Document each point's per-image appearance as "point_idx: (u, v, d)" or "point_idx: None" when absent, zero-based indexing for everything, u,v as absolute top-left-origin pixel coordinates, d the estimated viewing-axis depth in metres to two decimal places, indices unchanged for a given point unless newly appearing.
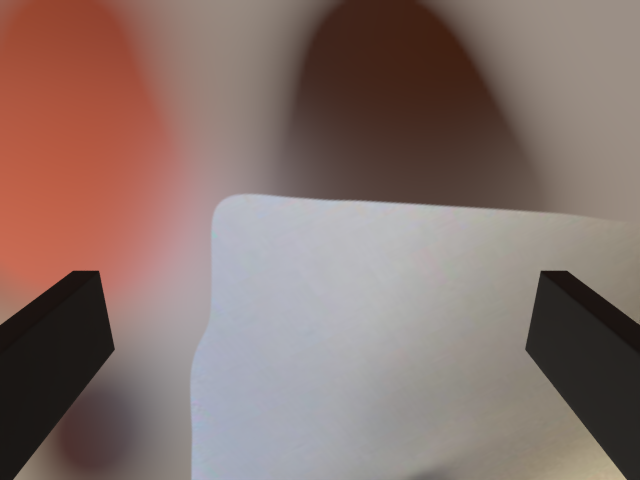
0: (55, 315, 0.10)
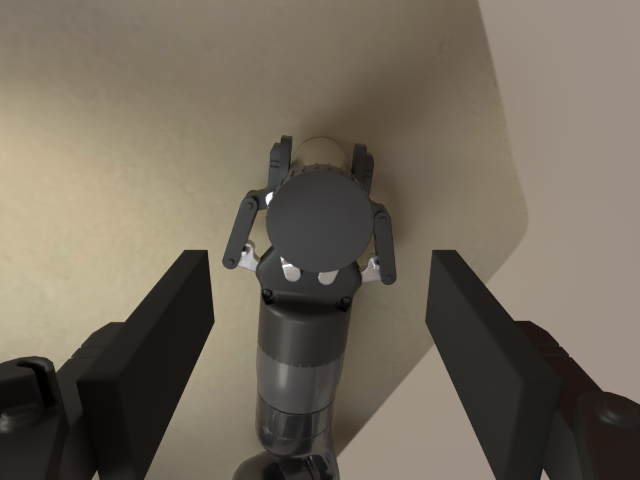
0: (188, 284, 0.12)
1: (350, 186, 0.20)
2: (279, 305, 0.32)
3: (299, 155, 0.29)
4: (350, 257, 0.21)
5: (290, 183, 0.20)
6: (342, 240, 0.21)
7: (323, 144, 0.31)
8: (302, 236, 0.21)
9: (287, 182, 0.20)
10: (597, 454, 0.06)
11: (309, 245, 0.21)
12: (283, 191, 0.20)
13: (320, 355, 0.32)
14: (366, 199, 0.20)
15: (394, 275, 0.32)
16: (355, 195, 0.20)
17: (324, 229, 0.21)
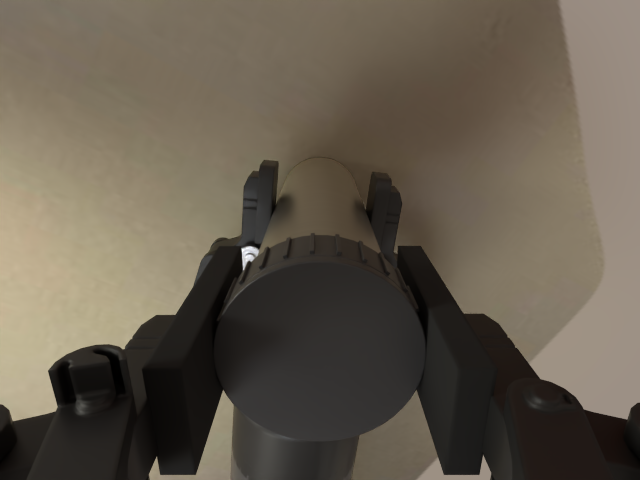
0: (228, 279, 0.12)
1: (382, 291, 0.10)
2: None
3: (288, 192, 0.19)
4: (378, 416, 0.11)
5: (259, 285, 0.10)
6: (363, 387, 0.11)
7: (324, 172, 0.21)
8: (285, 380, 0.11)
9: (253, 283, 0.10)
10: (524, 440, 0.07)
11: (299, 395, 0.11)
12: (245, 300, 0.10)
13: None
14: (414, 315, 0.10)
15: None
16: (392, 308, 0.10)
17: (328, 368, 0.10)
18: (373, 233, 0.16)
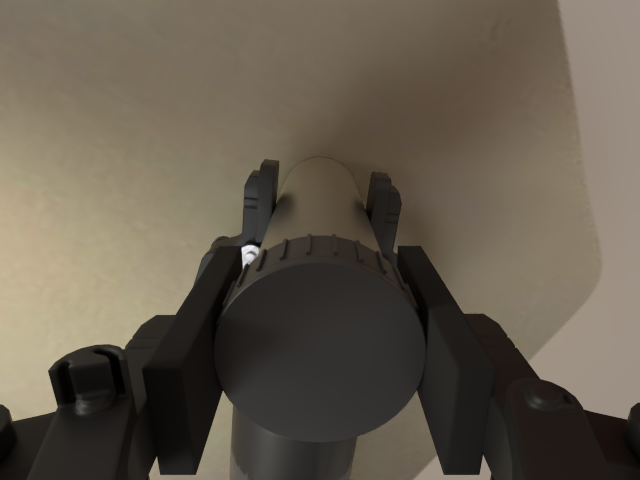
0: (228, 279, 0.12)
1: (232, 319, 0.10)
2: None
3: (288, 191, 0.19)
4: (384, 296, 0.10)
5: (251, 414, 0.11)
6: (348, 316, 0.10)
7: (325, 172, 0.21)
8: (350, 385, 0.11)
9: (251, 418, 0.11)
10: (524, 440, 0.07)
11: (367, 371, 0.10)
12: (268, 423, 0.11)
13: (318, 478, 0.22)
14: (251, 287, 0.10)
15: None
16: (248, 308, 0.10)
17: (329, 351, 0.10)
18: (373, 232, 0.16)
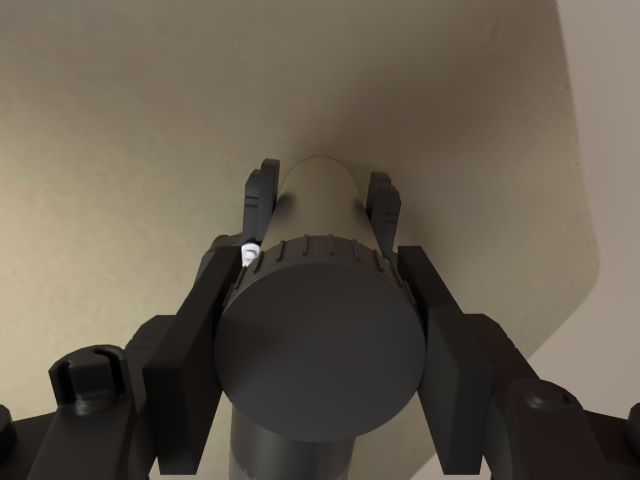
0: (228, 279, 0.12)
1: (289, 430, 0.11)
2: None
3: (289, 190, 0.19)
4: (235, 318, 0.10)
5: (394, 408, 0.11)
6: (265, 343, 0.10)
7: (325, 171, 0.21)
8: (346, 329, 0.10)
9: (400, 407, 0.11)
10: (524, 439, 0.07)
11: (326, 316, 0.10)
12: (404, 394, 0.11)
13: (317, 475, 0.22)
14: (253, 420, 0.11)
15: None
16: (274, 420, 0.11)
17: (307, 354, 0.10)
18: (372, 231, 0.16)
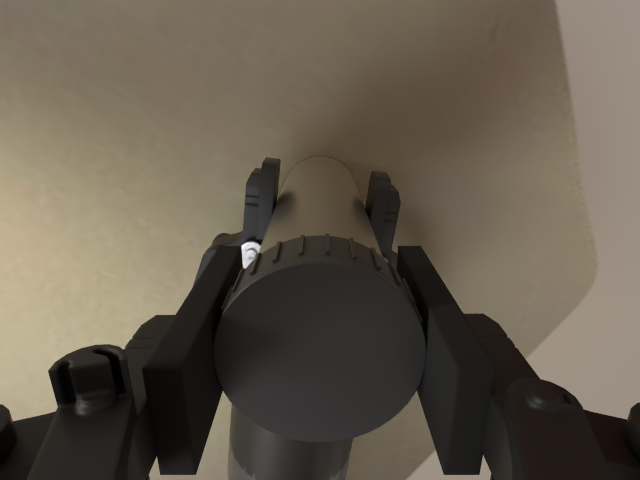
0: (228, 279, 0.12)
1: (412, 375, 0.11)
2: None
3: (289, 189, 0.20)
4: (286, 429, 0.11)
5: (371, 280, 0.10)
6: (309, 405, 0.11)
7: (325, 171, 0.21)
8: (280, 343, 0.10)
9: (370, 274, 0.10)
10: (524, 440, 0.07)
11: (269, 361, 0.10)
12: (350, 276, 0.10)
13: (316, 472, 0.22)
14: (401, 407, 0.11)
15: None
16: (399, 389, 0.11)
17: (314, 371, 0.10)
18: (372, 230, 0.16)
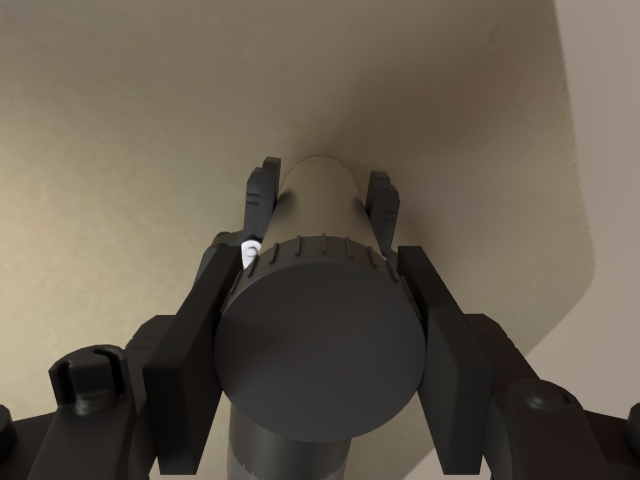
0: (228, 279, 0.12)
1: (323, 272, 0.10)
2: None
3: (290, 188, 0.20)
4: (410, 378, 0.11)
5: (223, 330, 0.10)
6: (376, 361, 0.10)
7: (325, 170, 0.22)
8: (306, 394, 0.11)
9: (218, 331, 0.10)
10: (524, 440, 0.07)
11: (328, 399, 0.11)
12: (222, 349, 0.10)
13: (314, 470, 0.23)
14: (367, 275, 0.10)
15: None
16: (344, 281, 0.10)
17: (333, 363, 0.10)
18: (372, 229, 0.17)
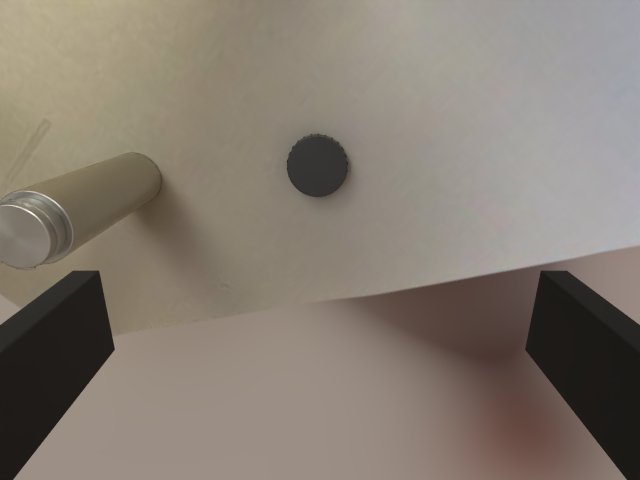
0: (55, 315, 0.10)
1: (318, 139, 0.36)
2: None
3: (123, 182, 0.32)
4: (343, 173, 0.37)
5: (290, 158, 0.37)
6: (333, 168, 0.37)
7: (140, 197, 0.35)
8: (313, 179, 0.37)
9: (289, 158, 0.37)
10: None
11: (319, 181, 0.37)
12: (290, 163, 0.37)
13: None
14: (329, 140, 0.36)
15: None
16: (323, 142, 0.36)
17: (321, 168, 0.37)
18: None
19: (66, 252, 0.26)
